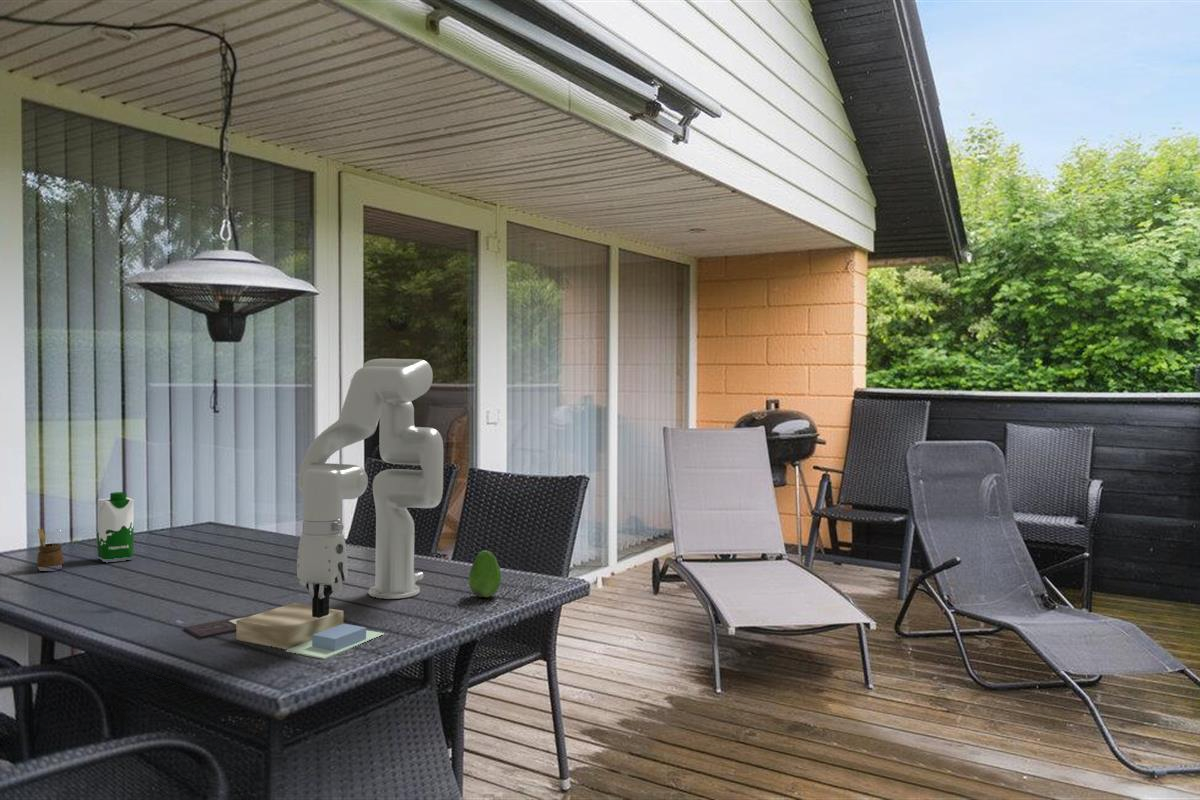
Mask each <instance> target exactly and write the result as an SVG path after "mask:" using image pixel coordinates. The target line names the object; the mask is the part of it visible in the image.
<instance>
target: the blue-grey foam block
mask: <svg viewBox="0 0 1200 800" xmlns="http://www.w3.org/2000/svg"><path fill="white" fill-rule="evenodd" d="M366 630H367V627H365V626H359V625H354V624H349V623H348V624H347V623H343V624H341V625H339V626H336V627H333V628H330V629H327V630H324V631H321V632H319V633H316V634H313V635H312V647H317V648H322V649H327V650H332V651H337V650H339V649H342V648H344V647H347V646H350V645H352V644H355V643H357V642H360V641H363V640H365V639H366Z"/></svg>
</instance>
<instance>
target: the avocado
mask: <svg viewBox="0 0 1200 800" xmlns="http://www.w3.org/2000/svg"><path fill="white" fill-rule="evenodd" d="M468 578H469V579H468V584H469V587H470V590H471V592H472V593H473V594H474V595H475V596H476V597H478V598H481V597H485V598H490V597H491V596H493V595H494V594H496V592H498V590H499V588H500V585H501V580H502V575H501V568H500V566H499V562H498V560H497V557H496V556H495V555H494V554H493V552H492V551H490V550H486V549H485V550H482V551H480V552H478V554H476V558H475V559H474V560H473V564H472V565H471V568H470V571H469V577H468Z"/></svg>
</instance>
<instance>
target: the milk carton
mask: <svg viewBox="0 0 1200 800" xmlns="http://www.w3.org/2000/svg"><path fill="white" fill-rule="evenodd" d="M109 495H110V497H108V498H98V499H97V529H96V530H97V537H96V538H97V541H96V543H97V557H98V556H99V557H101V558H103V559H114V558H123V557H132V558H133V556H134V555H133V553H134V533H135V531H134V529H135V527H134V526H135V525H134V519H135V517H134V514H135V513H134V512H135V499H132V498H131V497H127V492H124V491H121V492H119V491H116V492H111V493H110V494H109Z"/></svg>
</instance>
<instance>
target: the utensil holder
mask: <svg viewBox="0 0 1200 800" xmlns="http://www.w3.org/2000/svg"><path fill="white" fill-rule="evenodd" d="M56 530H57V532H56ZM37 531H38V536H39V539H40V540H41V543H42V544H40V545H39V548H38V550H39V552H38V554H37V566H38V567H49V566H58V565H62V564H63V565H64V553H63V550H62V547H63V546H62V543H60V541H61V538H62V530H61V529H55V530H53V531H52V533H51V534H52V536H51V539H50V540H51V543H45V540H46V537H45V533H44V529H43V528H37ZM58 531H59V536H60V537H59V540H58V541H57V540H55V542H53V536H55V535H54V534H55V532H56V533H58ZM57 536H58V534H56V536H55V539H57Z"/></svg>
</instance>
